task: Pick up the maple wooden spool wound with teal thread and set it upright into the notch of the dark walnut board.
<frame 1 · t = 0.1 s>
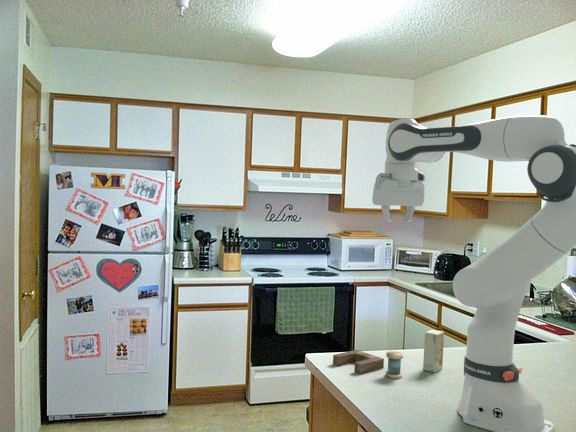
hand: (397, 221, 157), 48 cm above the counter, tool pointing down, fingers open, 8 cm apart
thread spool: (393, 376, 163), on the counter
skincare box: (432, 370, 170), on the counter
notched board: (358, 366, 171), on the counter
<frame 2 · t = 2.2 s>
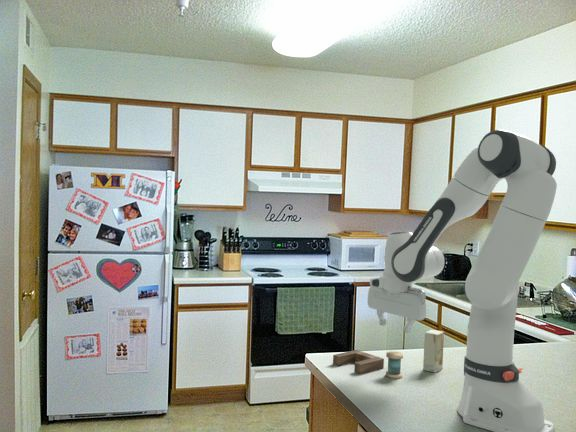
hand: (394, 328, 162), 15 cm above the counter, tool pointing down, fingers open, 8 cm apart
nothing on the counter moved.
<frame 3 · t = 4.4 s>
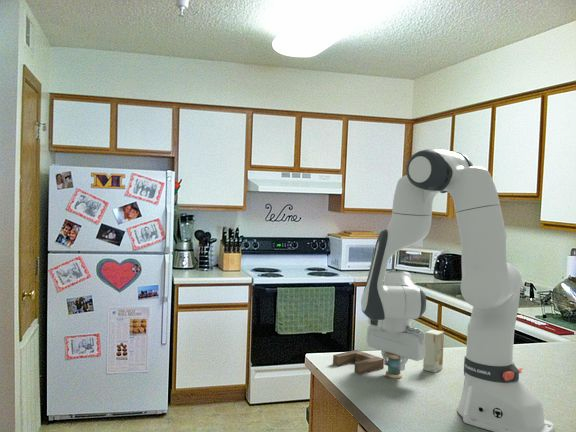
hand: (394, 367, 162), 3 cm above the counter, tool pointing down, fingers closed on thread spool, 4 cm apart
thread spool: (393, 376, 163), on the counter, touching gripper
everything else where it was.
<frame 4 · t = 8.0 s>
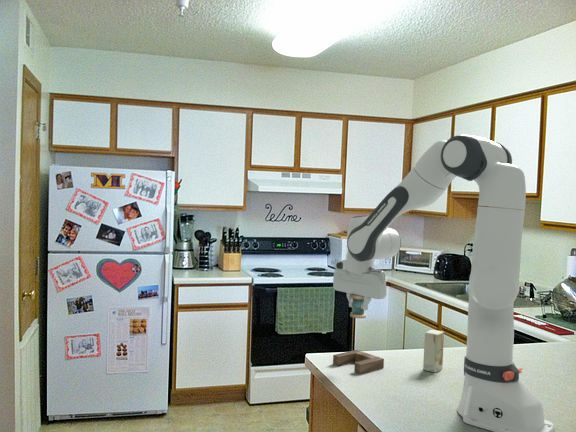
hand: (358, 308, 170), 19 cm above the counter, tool pointing down, fingers closed on thread spool, 4 cm apart
thread spool: (357, 316, 170), point 16 cm above the counter, touching gripper
everything else where it was.
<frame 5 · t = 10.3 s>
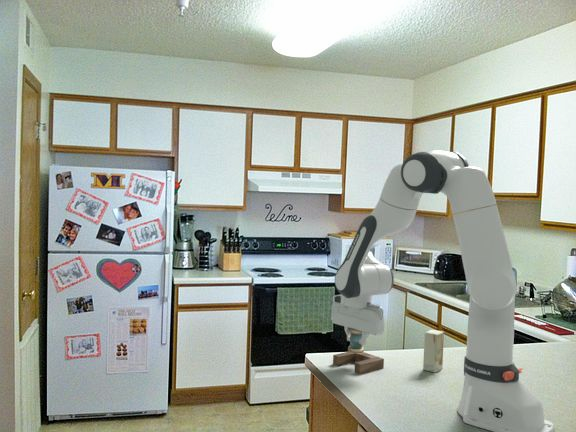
hand: (356, 342, 170), 8 cm above the counter, tool pointing down, fingers closed on thread spool, 4 cm apart
thread spool: (355, 350, 170), point 5 cm above the counter, touching gripper
everything else where it was.
when the fingers open (4 cm above the counter, at t = 12.1 s): thread spool drops 1 cm, resting in notched board.
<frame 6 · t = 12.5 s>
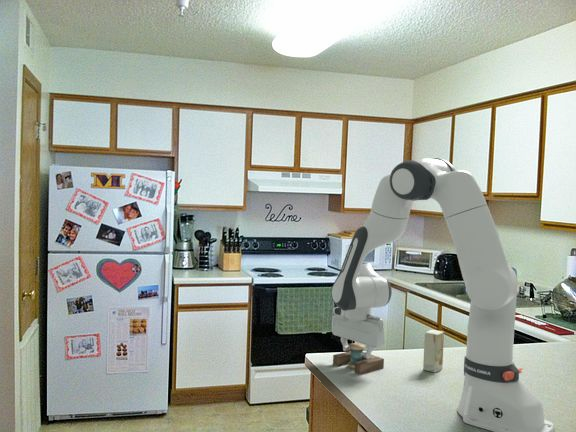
hand: (356, 354, 170), 4 cm above the counter, tool pointing down, fingers open, 8 cm apart
thread spool: (356, 366, 171), resting in notched board
everything else where it was.
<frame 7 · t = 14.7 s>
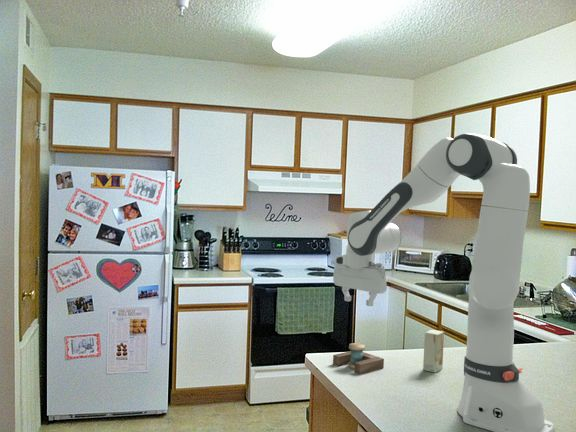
hand: (358, 303, 170), 21 cm above the counter, tool pointing down, fingers open, 8 cm apart
nothing on the counter moved.
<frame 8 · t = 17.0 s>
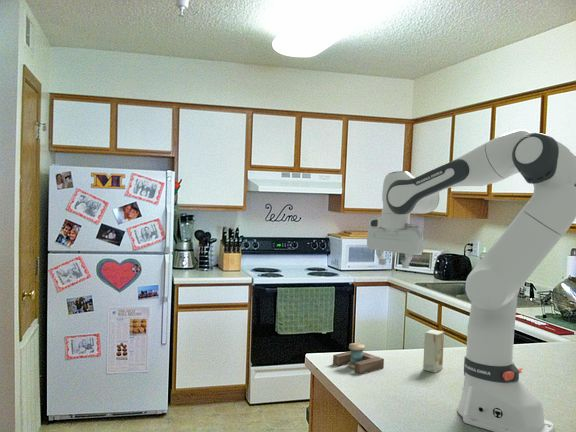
hand: (393, 266, 168), 33 cm above the counter, tool pointing down, fingers open, 8 cm apart
nothing on the counter moved.
at the end: thread spool 0.1 cm from the target spot on the notched board, point 0.0 cm above the notched board's base; thread spool tilted 0°; the gripper is holding nothing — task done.
